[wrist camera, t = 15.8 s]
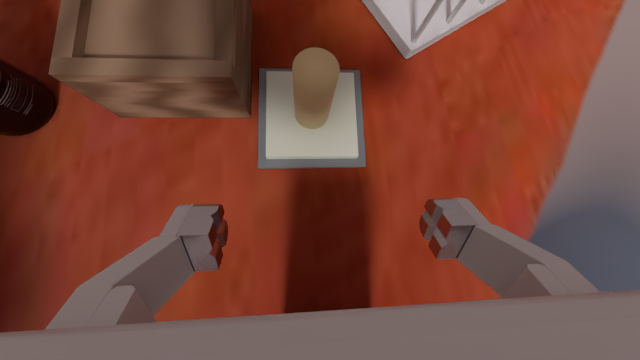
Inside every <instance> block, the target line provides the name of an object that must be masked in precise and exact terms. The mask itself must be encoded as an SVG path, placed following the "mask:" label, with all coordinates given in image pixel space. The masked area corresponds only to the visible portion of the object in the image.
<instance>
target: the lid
mask: <svg viewBox="0 0 640 360" xmlns="http://www.w3.org/2000/svg"><path fill="white" fill-rule="evenodd" d="M357 157H358V139H357V122H356V105H355V87H354V73H341V72H340V67H339V63H338V61H337V59H336V58H335V56H334V55H333V54H332V53H330V52H329V51H327V50H325V49H322V48H317V47H312V48H307V49H305V50H303V51H301V52H300V53H299V54H298V55H297V56H296V57H295V59H294V61H293V64H292V72H289V71H266V158H267V159H337V158H357Z"/></svg>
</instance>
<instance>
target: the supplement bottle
mask: <svg viewBox="0 0 640 360" xmlns="http://www.w3.org/2000/svg"><path fill="white" fill-rule="evenodd" d="M53 109H54V98H53V95H52V93H51V91H50V89H49V88H48V87H47V86H46V85H45V84H44V83H43V82H41V81H40V80H38V79H37V78H35V77H33V76H31V75H29V74H28V73H26V72H24V71H22V70H20V69H18V68H16V67H15V66H13V65H11V64H9V63H7V62H5V61H3V60H2V59H0V134H1V135H6V136H21V135H26V134H29V133H32V132H34V131H36V130H38V129H39V128H41V127H42V126H43V125H44V124H45V123H46V122H47V121H48V120H49V118H50V117H51V115H52V112H53Z"/></svg>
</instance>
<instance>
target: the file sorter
mask: <svg viewBox="0 0 640 360" xmlns="http://www.w3.org/2000/svg"><path fill="white" fill-rule="evenodd" d="M505 1H506V0H362V2H363V3H364V4H365V6H366V7H367V8H368V10H369V11H370V12H371V14H372V15H373V16H374V18H375V19H376V20H377V22H378V23H379V24H380V26H381V27H382V28H383V30H384V31H385V32H386V34H387V35H388V36H389V38H390V39H391V40H392V42H393V43H394V44H395V46H396V47H397V48H398V50H399V51H400V53H401V54H402V55H403V57H404V58H405V59H408V58H410V57H412V56H413V55H415V54H416V53H418V52H420V51H421V50H423V49H425V48H426V47H428V46H430V45H431V44H433V43H435V42H436V41H438V40H440V39H441V38H443V37H445V36H447V35H448V34H450V33H452V32H454V31H455V30H457V29H459V28H460V27H462V26H464V25H465V24H467V23H469V22H470V21H472V20H474V19H476V18H477V17H479V16H481V15H482V14H484V13H486V12H488V11H489V10H491V9H493V8H494V7H496V6H498V5H500V4H501V3H503V2H505Z"/></svg>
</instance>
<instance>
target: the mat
mask: <svg viewBox="0 0 640 360" xmlns="http://www.w3.org/2000/svg"><path fill="white" fill-rule="evenodd" d="M266 71H289V72H292V69H276V68H259V126H258V169H276V168H356V167H366V159H365V144H364V128H363V112H362V97H361V81H360V70H340V72H341V73H354V87H355V105H356V122H357V139H358V157H357V158H337V159H267V158H266Z"/></svg>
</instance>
